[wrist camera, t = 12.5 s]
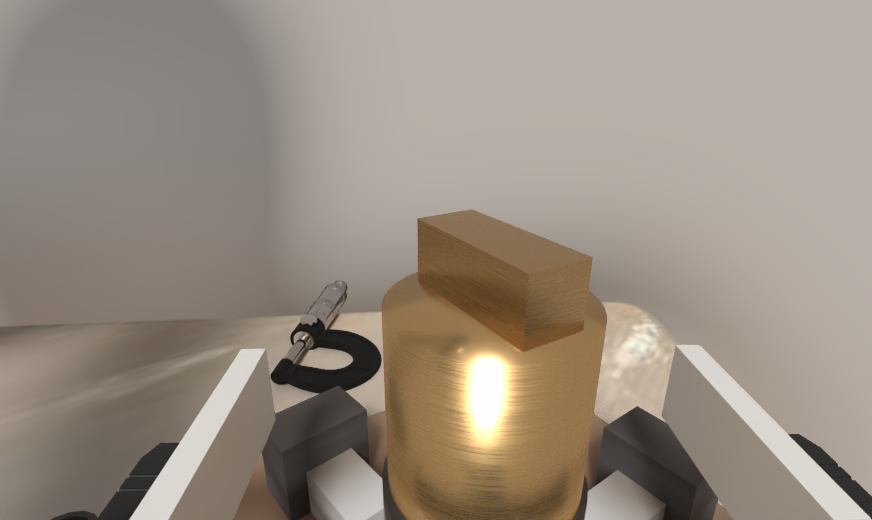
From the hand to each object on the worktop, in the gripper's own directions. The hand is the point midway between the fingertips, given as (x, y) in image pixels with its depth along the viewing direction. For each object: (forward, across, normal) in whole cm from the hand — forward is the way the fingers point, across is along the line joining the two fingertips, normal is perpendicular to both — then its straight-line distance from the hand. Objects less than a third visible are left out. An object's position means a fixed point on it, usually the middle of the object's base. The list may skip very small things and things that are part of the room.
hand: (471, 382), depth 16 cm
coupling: (-3, 0, -8) cm, 9 cm away
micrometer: (+21, -8, -11) cm, 25 cm away
